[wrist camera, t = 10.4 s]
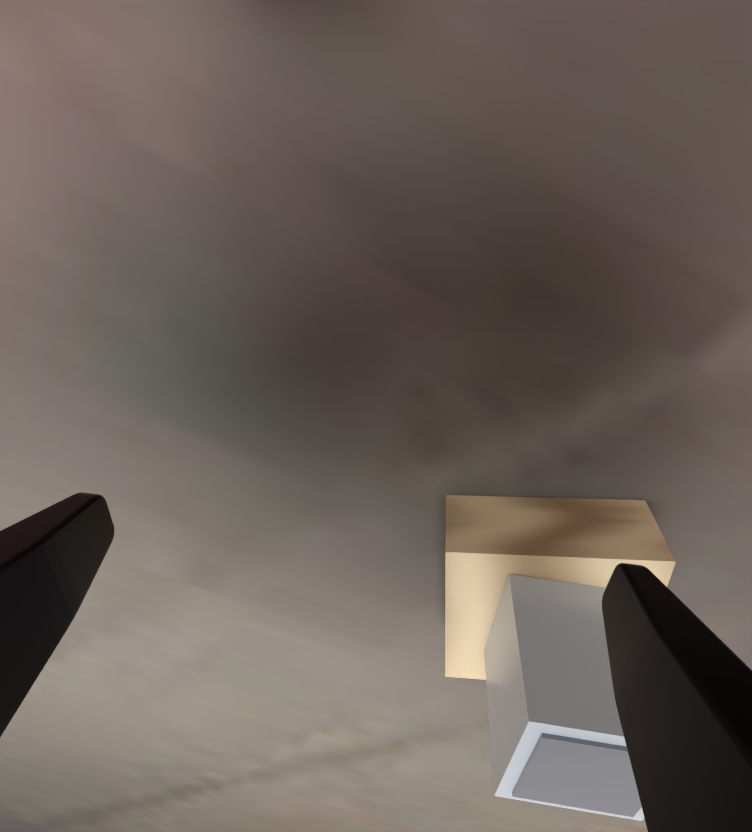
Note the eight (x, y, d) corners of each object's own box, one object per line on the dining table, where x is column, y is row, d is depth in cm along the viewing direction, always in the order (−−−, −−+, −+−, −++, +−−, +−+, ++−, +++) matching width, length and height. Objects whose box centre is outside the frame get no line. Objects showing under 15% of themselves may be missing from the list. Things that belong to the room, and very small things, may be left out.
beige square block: (642, 494, 23) (675, 561, 20) (609, 619, 28) (631, 690, 24) (445, 490, 24) (445, 552, 21) (445, 610, 29) (445, 676, 26)
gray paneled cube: (641, 593, 21) (706, 754, 16) (599, 668, 24) (643, 826, 19) (508, 573, 21) (529, 726, 16) (483, 650, 24) (494, 800, 19)
